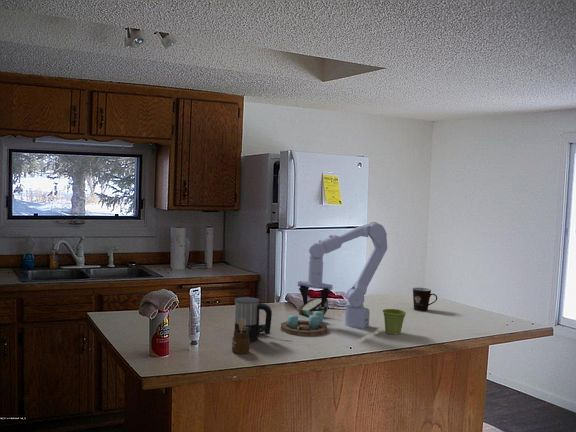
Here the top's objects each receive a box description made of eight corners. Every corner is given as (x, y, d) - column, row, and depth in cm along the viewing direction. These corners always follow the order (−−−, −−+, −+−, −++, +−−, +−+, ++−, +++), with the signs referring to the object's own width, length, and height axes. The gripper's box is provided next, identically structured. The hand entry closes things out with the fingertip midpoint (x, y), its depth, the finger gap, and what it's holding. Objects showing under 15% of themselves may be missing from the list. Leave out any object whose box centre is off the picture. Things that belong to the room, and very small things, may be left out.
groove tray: (334, 331, 242) (335, 325, 242) (313, 341, 226) (313, 334, 226) (295, 324, 251) (295, 318, 251) (271, 332, 235) (272, 326, 235)
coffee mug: (407, 308, 293) (409, 287, 293) (422, 307, 297) (423, 287, 296) (422, 313, 283) (424, 292, 282) (437, 312, 286) (439, 291, 286)
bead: (294, 330, 236) (294, 318, 235) (285, 329, 238) (285, 316, 237) (299, 328, 239) (299, 316, 239) (290, 327, 241) (291, 314, 241)
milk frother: (235, 343, 219) (236, 302, 218) (227, 331, 234) (229, 293, 233) (273, 342, 222) (275, 301, 221) (264, 331, 238) (265, 293, 237)
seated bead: (320, 328, 241) (321, 316, 241) (315, 330, 238) (316, 317, 238) (311, 326, 243) (312, 314, 243) (306, 328, 240) (307, 316, 240)
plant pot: (408, 332, 246) (409, 311, 246) (400, 337, 238) (401, 315, 238) (386, 328, 251) (387, 307, 251) (377, 333, 243) (379, 311, 242)
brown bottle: (249, 349, 211) (251, 315, 211) (248, 354, 205) (250, 319, 204) (232, 348, 211) (233, 314, 210) (231, 354, 205) (232, 318, 204)
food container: (298, 322, 266) (313, 324, 259) (293, 310, 265) (309, 311, 257) (317, 309, 274) (332, 310, 266) (313, 297, 273) (328, 298, 265)
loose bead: (324, 324, 254) (324, 312, 253) (319, 325, 250) (320, 313, 250) (315, 322, 256) (316, 310, 255) (311, 324, 252) (311, 312, 252)
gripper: (335, 273, 249) (334, 306, 250) (302, 269, 255) (301, 301, 256) (329, 275, 243) (328, 309, 244) (296, 271, 249) (294, 304, 250)
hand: (314, 305), depth 249 cm, fingers open, 7 cm apart
